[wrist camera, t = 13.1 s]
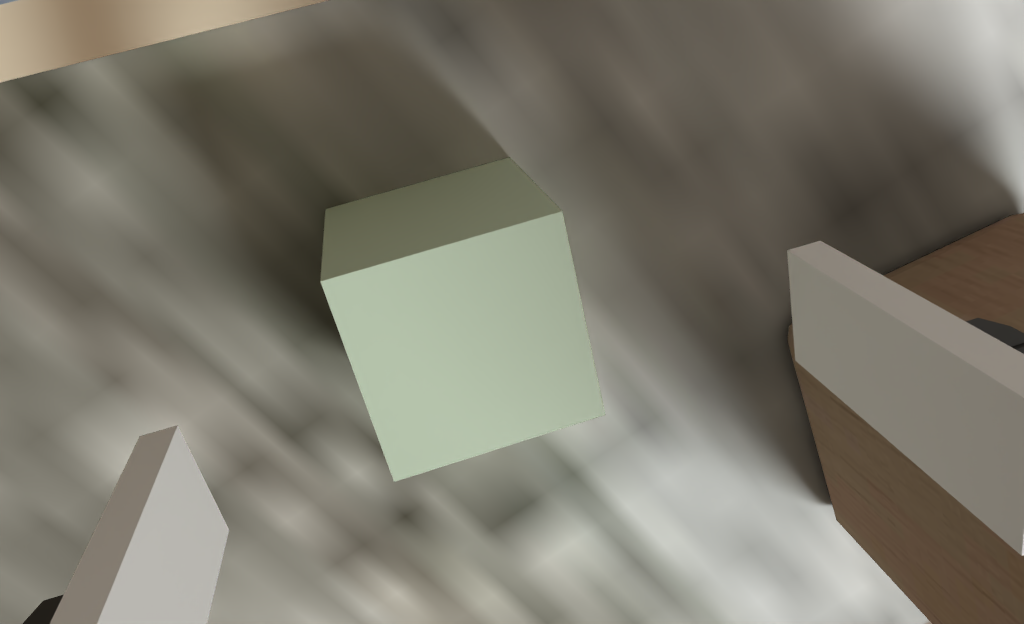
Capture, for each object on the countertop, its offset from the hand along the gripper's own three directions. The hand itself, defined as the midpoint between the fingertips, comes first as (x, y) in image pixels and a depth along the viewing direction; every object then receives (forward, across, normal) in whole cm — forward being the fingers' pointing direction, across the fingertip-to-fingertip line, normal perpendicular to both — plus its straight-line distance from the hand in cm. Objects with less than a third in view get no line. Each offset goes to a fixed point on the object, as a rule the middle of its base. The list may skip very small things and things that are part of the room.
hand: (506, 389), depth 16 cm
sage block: (+8, 0, 0) cm, 8 cm away
